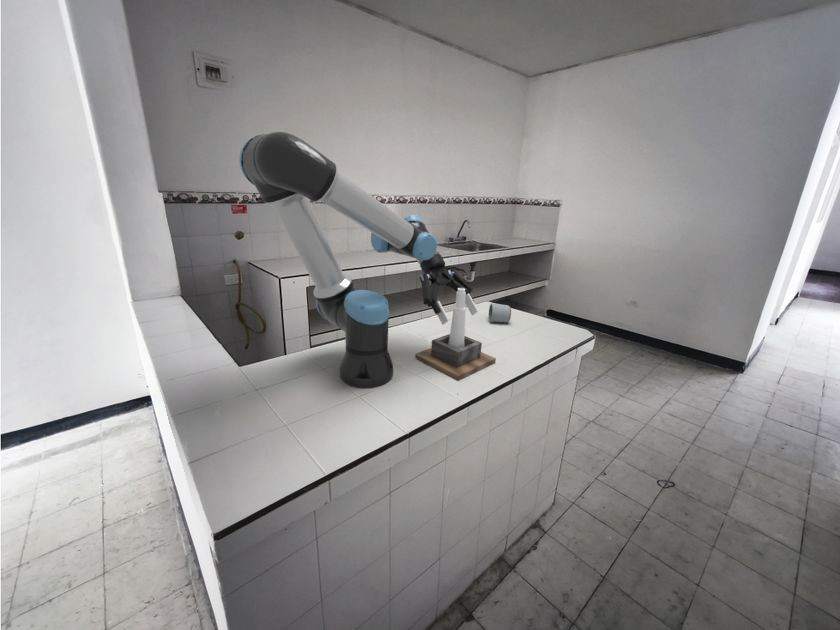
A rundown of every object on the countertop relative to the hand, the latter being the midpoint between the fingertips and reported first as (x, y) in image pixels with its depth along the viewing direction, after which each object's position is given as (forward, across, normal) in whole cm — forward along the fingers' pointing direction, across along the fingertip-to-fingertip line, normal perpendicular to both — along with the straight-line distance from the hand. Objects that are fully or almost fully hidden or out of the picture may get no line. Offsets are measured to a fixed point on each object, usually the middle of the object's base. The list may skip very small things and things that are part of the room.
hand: (461, 317), depth 111 cm
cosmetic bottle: (+9, 0, -10) cm, 13 cm away
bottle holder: (+10, 0, -10) cm, 15 cm away
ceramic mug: (0, -42, -21) cm, 47 cm away
